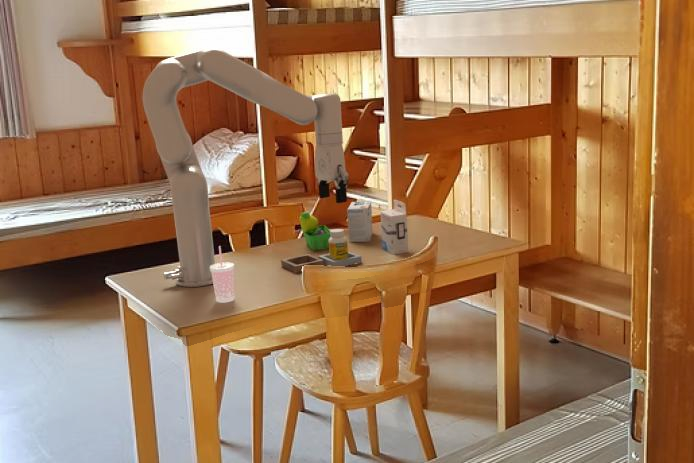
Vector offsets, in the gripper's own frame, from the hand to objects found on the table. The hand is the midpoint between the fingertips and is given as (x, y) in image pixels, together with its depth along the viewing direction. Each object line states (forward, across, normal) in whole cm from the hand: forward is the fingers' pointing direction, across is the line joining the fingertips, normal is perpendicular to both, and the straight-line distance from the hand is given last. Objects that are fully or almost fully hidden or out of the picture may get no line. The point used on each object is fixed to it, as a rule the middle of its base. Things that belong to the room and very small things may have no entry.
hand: (332, 199), depth 232 cm
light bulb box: (+18, -20, +21) cm, 34 cm away
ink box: (+18, 0, +20) cm, 27 cm away
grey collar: (+18, +1, +1) cm, 18 cm away
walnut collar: (+18, -3, -9) cm, 21 cm away
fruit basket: (+19, -21, +5) cm, 29 cm away
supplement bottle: (+19, 0, +1) cm, 19 cm away
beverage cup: (+19, +10, -38) cm, 44 cm away
